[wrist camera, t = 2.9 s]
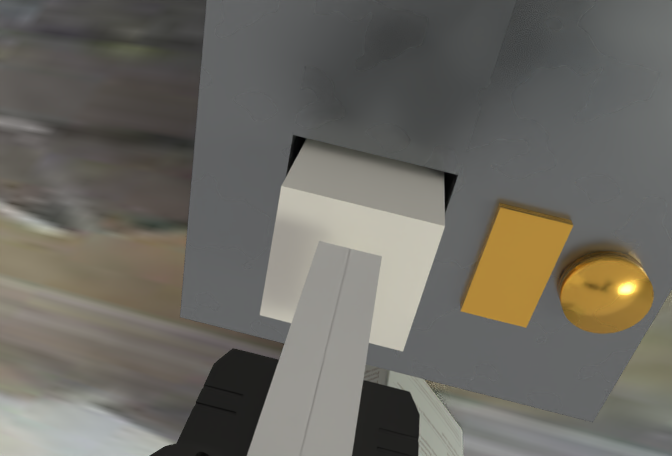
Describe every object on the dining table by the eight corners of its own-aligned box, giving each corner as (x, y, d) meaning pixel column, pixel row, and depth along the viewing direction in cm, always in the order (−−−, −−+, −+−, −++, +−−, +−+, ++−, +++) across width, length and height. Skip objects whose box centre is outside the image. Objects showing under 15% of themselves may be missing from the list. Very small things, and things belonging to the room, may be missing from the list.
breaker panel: (824, -295, 17) (1133, -444, 9) (553, 284, 27) (597, 436, 19) (330, -401, 17) (246, -625, 10) (246, 208, 27) (173, 328, 20)
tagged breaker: (443, 148, 19) (445, 226, 14) (410, 254, 21) (402, 351, 16) (317, 117, 19) (281, 186, 14) (296, 226, 21) (259, 314, 16)
